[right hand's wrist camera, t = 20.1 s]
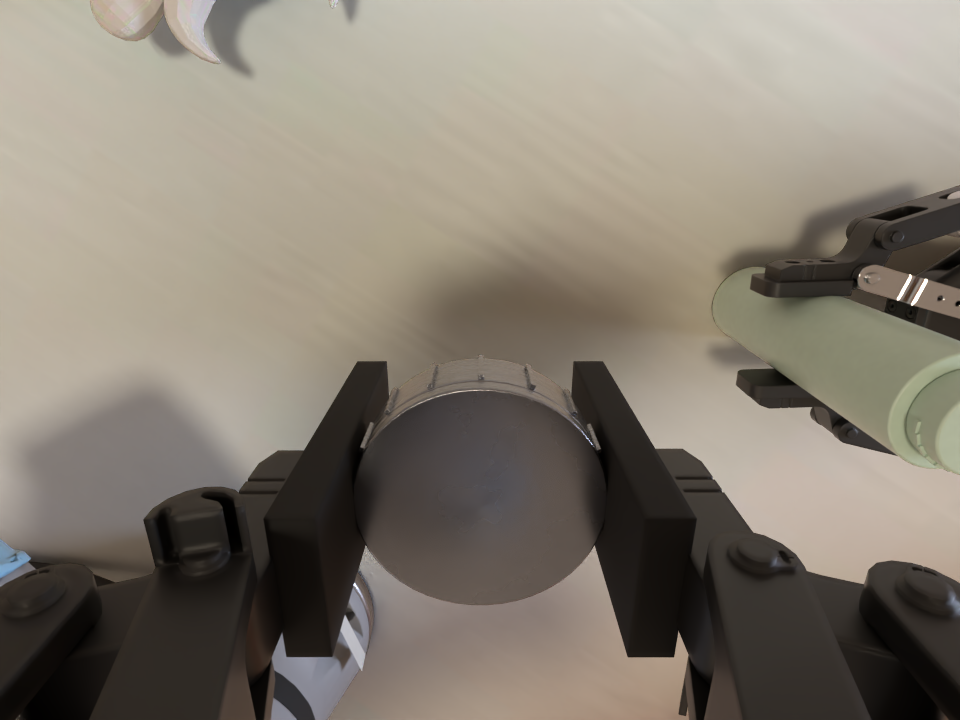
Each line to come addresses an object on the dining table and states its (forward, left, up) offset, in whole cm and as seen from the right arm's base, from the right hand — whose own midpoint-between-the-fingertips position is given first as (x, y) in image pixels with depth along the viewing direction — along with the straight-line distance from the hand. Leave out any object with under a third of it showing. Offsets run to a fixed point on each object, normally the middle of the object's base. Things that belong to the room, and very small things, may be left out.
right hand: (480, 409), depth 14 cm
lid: (0, 0, +4) cm, 4 cm away
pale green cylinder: (+15, +5, -18) cm, 24 cm away
